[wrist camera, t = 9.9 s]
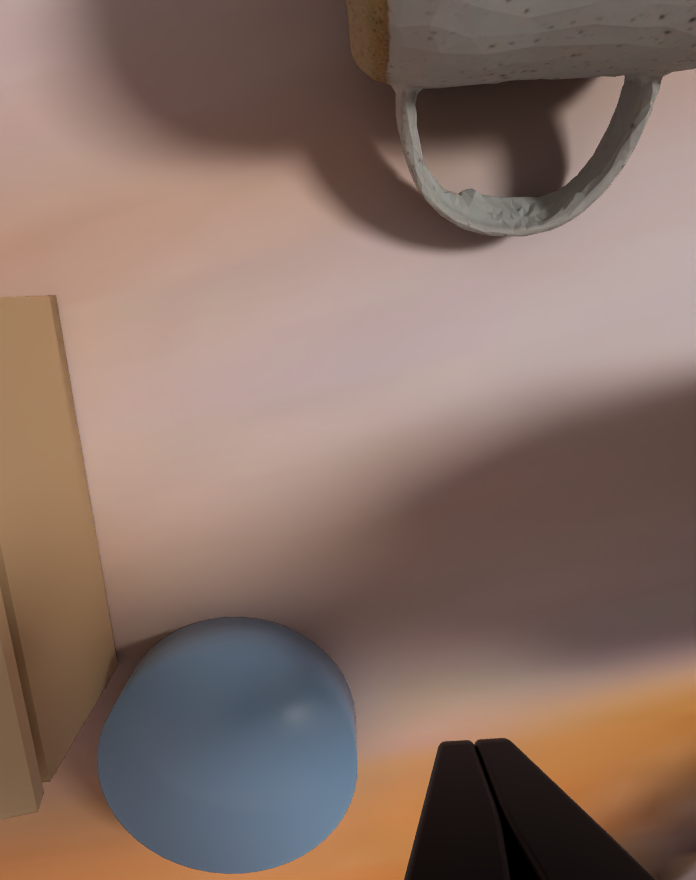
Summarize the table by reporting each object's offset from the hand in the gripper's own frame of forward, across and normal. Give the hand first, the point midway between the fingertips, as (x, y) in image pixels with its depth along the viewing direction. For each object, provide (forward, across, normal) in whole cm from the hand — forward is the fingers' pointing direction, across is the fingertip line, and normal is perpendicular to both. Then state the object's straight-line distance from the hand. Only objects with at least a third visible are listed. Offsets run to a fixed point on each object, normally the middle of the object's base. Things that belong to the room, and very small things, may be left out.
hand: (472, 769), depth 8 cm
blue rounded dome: (+12, +6, +8) cm, 16 cm away
